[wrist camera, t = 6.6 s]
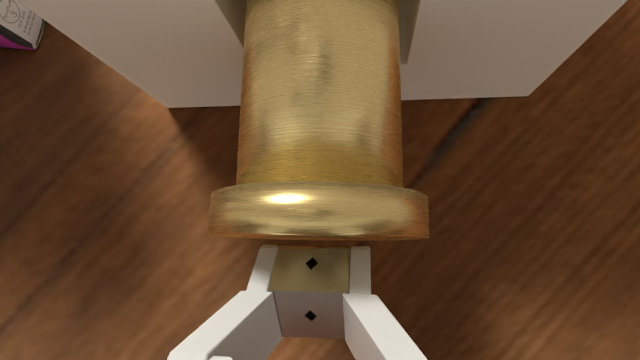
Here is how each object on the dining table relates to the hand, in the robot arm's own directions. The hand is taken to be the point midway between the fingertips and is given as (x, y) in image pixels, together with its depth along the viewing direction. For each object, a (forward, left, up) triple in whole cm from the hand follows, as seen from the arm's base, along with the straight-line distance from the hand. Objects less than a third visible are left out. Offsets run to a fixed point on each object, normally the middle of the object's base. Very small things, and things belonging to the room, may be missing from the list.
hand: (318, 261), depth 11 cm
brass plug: (-6, +4, -2) cm, 7 cm away
